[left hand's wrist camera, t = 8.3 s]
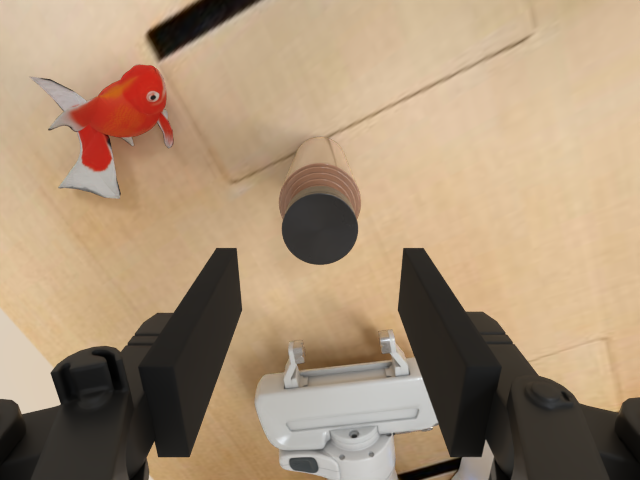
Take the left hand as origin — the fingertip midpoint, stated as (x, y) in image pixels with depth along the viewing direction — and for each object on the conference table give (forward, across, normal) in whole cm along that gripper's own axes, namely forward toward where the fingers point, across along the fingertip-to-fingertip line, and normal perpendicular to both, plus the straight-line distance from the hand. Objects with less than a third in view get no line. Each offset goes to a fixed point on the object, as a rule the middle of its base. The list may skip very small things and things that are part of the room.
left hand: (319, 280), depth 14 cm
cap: (+6, 0, 0) cm, 6 cm away
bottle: (+25, 0, 0) cm, 25 cm away
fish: (+25, +19, -3) cm, 32 cm away
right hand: (+19, -2, +17) cm, 26 cm away
